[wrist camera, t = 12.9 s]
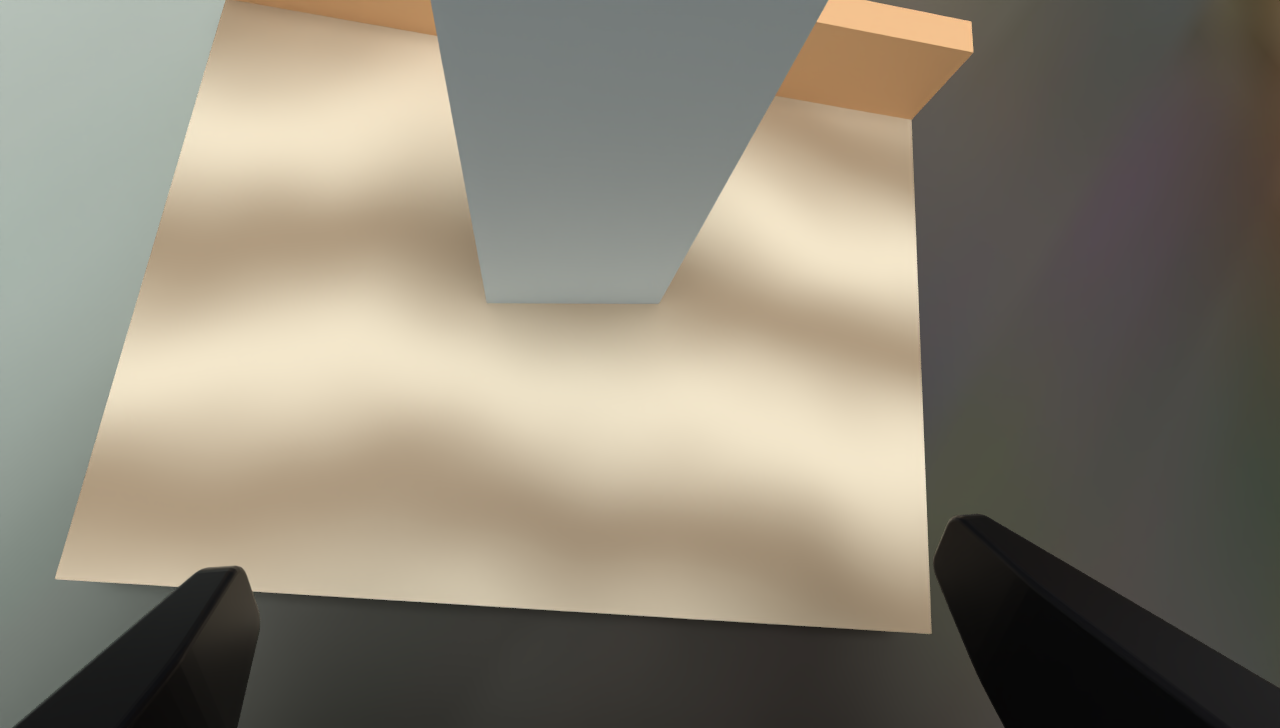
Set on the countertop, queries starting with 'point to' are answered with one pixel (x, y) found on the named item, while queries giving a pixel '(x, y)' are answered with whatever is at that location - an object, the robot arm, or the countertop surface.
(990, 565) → the robot arm
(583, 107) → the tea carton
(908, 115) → the price rail
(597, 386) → the shelf board
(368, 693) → the countertop surface
